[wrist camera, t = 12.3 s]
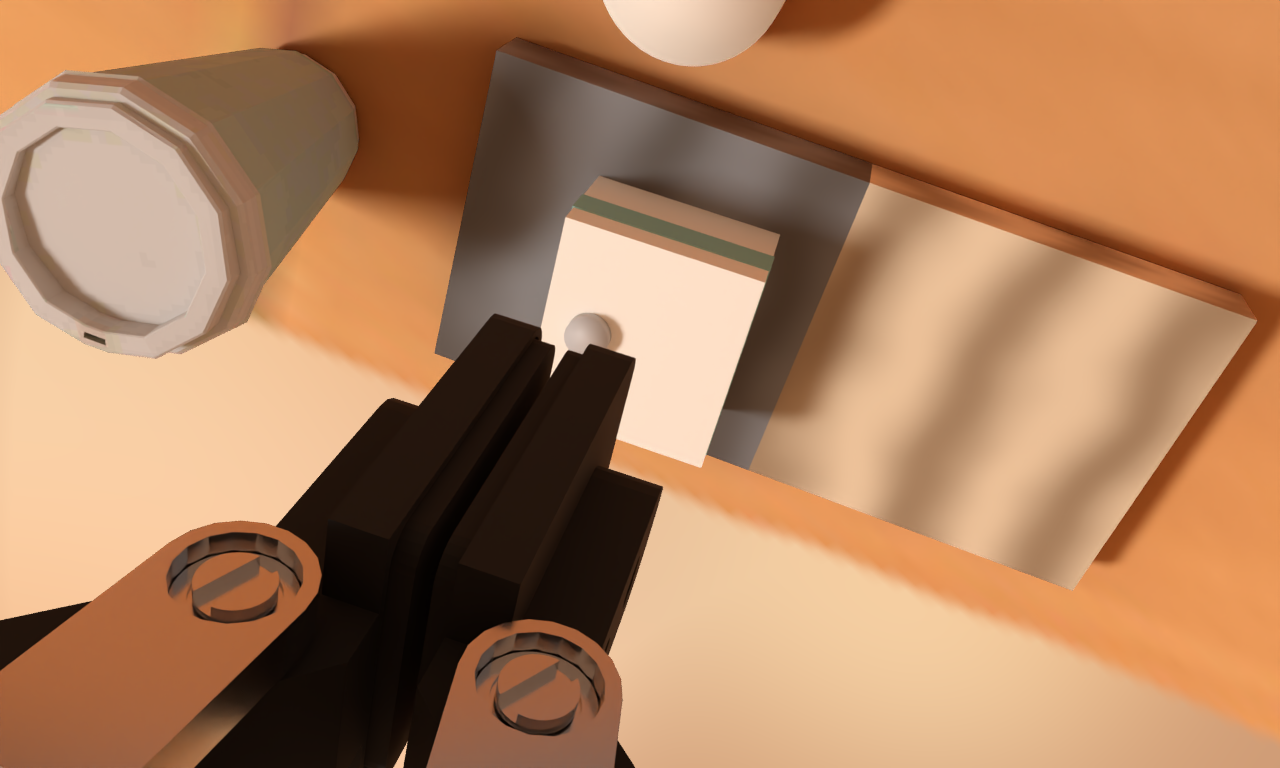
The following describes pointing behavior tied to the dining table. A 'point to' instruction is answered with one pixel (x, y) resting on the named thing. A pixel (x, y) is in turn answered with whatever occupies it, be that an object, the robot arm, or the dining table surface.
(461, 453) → the robot arm
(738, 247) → the carton
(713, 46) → the white domed cylinder
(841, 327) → the beige flat board
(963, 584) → the dining table surface
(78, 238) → the disposable coffee cup
